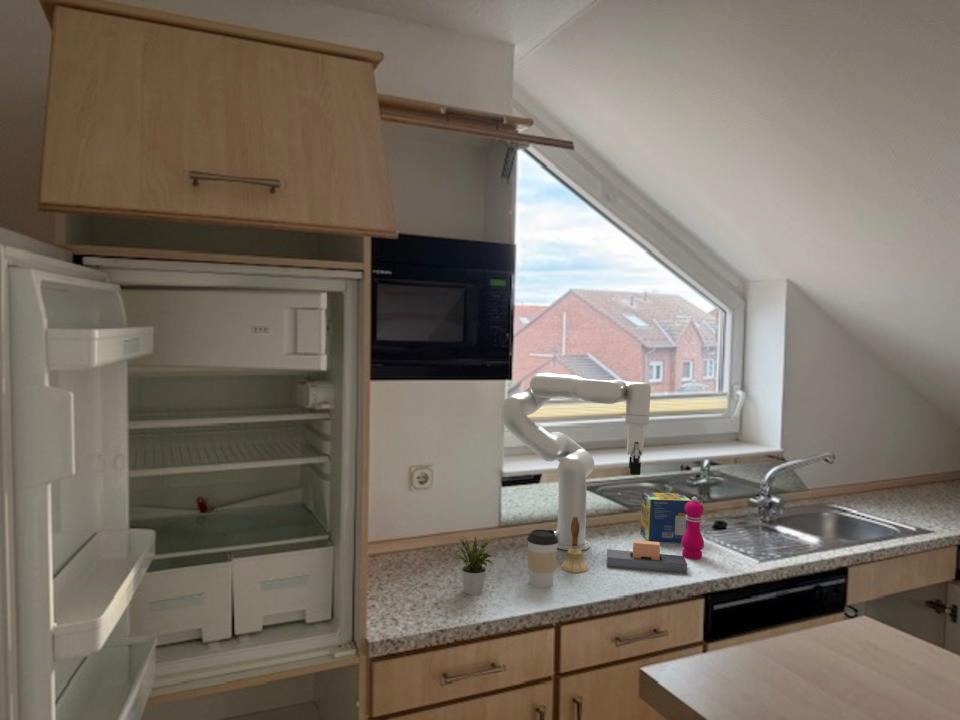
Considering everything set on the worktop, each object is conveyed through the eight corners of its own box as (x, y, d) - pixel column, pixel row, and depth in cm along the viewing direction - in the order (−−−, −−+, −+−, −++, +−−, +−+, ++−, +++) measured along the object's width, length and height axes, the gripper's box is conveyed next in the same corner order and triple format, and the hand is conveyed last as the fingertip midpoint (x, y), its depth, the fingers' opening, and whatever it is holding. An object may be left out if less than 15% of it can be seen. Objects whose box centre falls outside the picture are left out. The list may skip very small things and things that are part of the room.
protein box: (639, 533, 241) (641, 492, 240) (680, 534, 241) (682, 493, 241) (647, 542, 230) (649, 499, 230) (691, 543, 231) (692, 500, 230)
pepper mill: (704, 560, 212) (707, 500, 212) (681, 558, 214) (684, 498, 213) (702, 553, 219) (704, 495, 219) (679, 551, 221) (682, 493, 220)
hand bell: (563, 573, 197) (565, 520, 197) (558, 563, 206) (560, 513, 205) (590, 573, 198) (592, 521, 197) (584, 563, 206) (586, 513, 206)
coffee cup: (534, 590, 183) (536, 537, 182) (520, 579, 191) (521, 528, 190) (562, 586, 186) (564, 534, 186) (547, 575, 195) (548, 525, 194)
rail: (607, 566, 204) (607, 557, 204) (606, 558, 212) (607, 549, 212) (686, 574, 200) (687, 564, 200) (683, 565, 207) (683, 556, 207)
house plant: (441, 601, 173) (443, 540, 173) (444, 581, 187) (445, 525, 186) (495, 602, 173) (497, 541, 173) (493, 583, 187) (495, 526, 187)
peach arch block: (632, 566, 205) (633, 543, 205) (632, 563, 208) (633, 539, 208) (659, 569, 203) (660, 545, 203) (658, 565, 207) (659, 542, 206)
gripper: (624, 415, 223) (622, 465, 223) (626, 422, 206) (623, 476, 206) (647, 417, 221) (644, 467, 222) (650, 423, 204) (647, 478, 205)
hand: (634, 471), depth 214 cm, fingers open, 9 cm apart
